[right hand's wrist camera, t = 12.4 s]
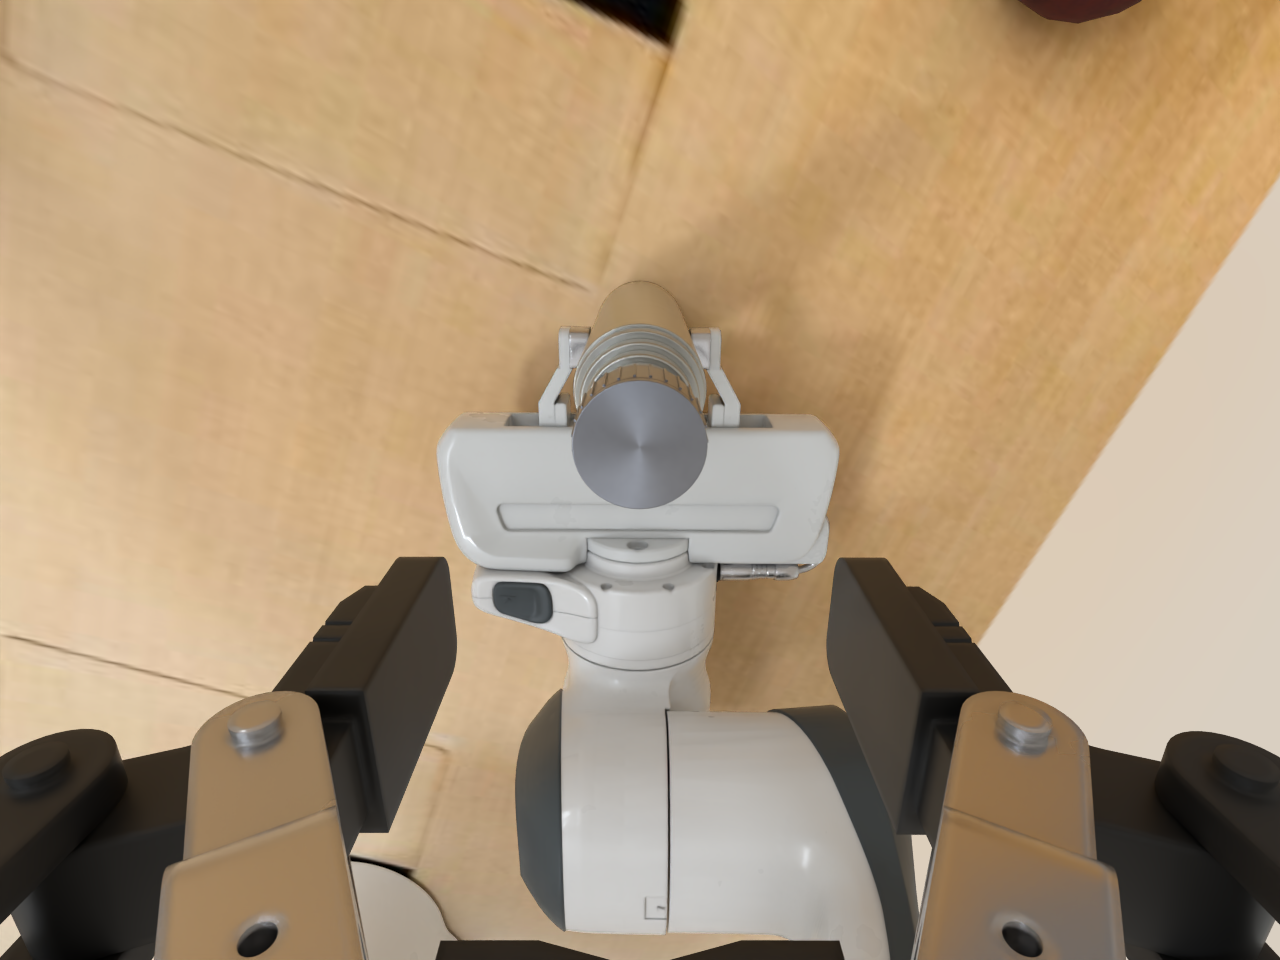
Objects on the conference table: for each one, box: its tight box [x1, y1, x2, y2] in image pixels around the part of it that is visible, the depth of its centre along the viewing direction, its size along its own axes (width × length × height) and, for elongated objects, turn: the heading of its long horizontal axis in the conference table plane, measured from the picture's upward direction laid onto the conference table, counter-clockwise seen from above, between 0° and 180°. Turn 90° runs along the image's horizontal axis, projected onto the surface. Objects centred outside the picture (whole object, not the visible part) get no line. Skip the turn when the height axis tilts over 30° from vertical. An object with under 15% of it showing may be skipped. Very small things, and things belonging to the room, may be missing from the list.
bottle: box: [573, 281, 707, 411], centre depth 30 cm, size 5×5×22 cm
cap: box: [571, 363, 709, 509], centre depth 21 cm, size 4×4×2 cm
